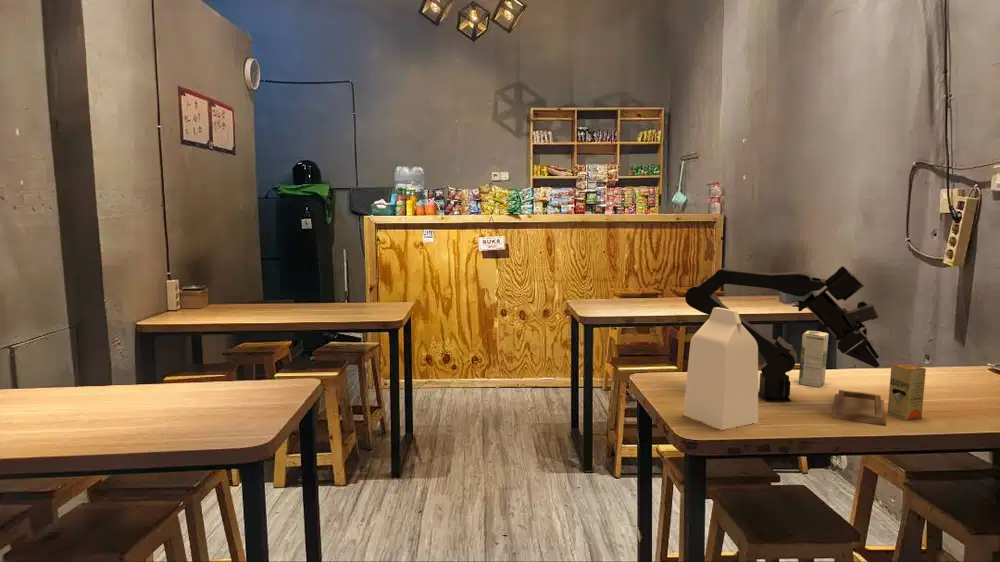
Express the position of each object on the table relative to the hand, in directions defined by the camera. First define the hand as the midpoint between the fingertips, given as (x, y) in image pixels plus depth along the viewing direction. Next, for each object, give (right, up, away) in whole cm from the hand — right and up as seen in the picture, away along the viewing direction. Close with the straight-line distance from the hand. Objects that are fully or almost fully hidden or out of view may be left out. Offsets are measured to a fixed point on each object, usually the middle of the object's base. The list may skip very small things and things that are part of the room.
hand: (877, 362), depth 158 cm
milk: (-39, -13, -4) cm, 42 cm away
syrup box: (-4, -9, +26) cm, 28 cm away
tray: (-3, -12, +3) cm, 13 cm away
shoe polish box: (+5, -13, -1) cm, 14 cm away
